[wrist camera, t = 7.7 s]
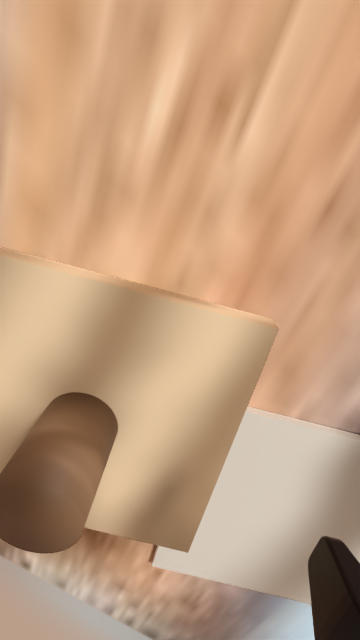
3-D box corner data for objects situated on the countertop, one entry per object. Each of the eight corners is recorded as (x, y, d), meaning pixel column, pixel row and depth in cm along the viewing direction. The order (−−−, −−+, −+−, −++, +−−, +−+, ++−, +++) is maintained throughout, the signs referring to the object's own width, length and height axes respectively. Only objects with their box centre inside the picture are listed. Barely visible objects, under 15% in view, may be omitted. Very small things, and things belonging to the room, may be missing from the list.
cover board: (273, 319, 13) (315, 403, 8) (188, 534, 18) (182, 669, 13) (-53, 232, 13) (-221, 264, 8) (-49, 476, 18) (-151, 592, 13)
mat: (453, 458, 21) (459, 465, 21) (344, 604, 27) (347, 612, 27) (207, 396, 21) (207, 401, 20) (152, 558, 27) (151, 566, 26)
